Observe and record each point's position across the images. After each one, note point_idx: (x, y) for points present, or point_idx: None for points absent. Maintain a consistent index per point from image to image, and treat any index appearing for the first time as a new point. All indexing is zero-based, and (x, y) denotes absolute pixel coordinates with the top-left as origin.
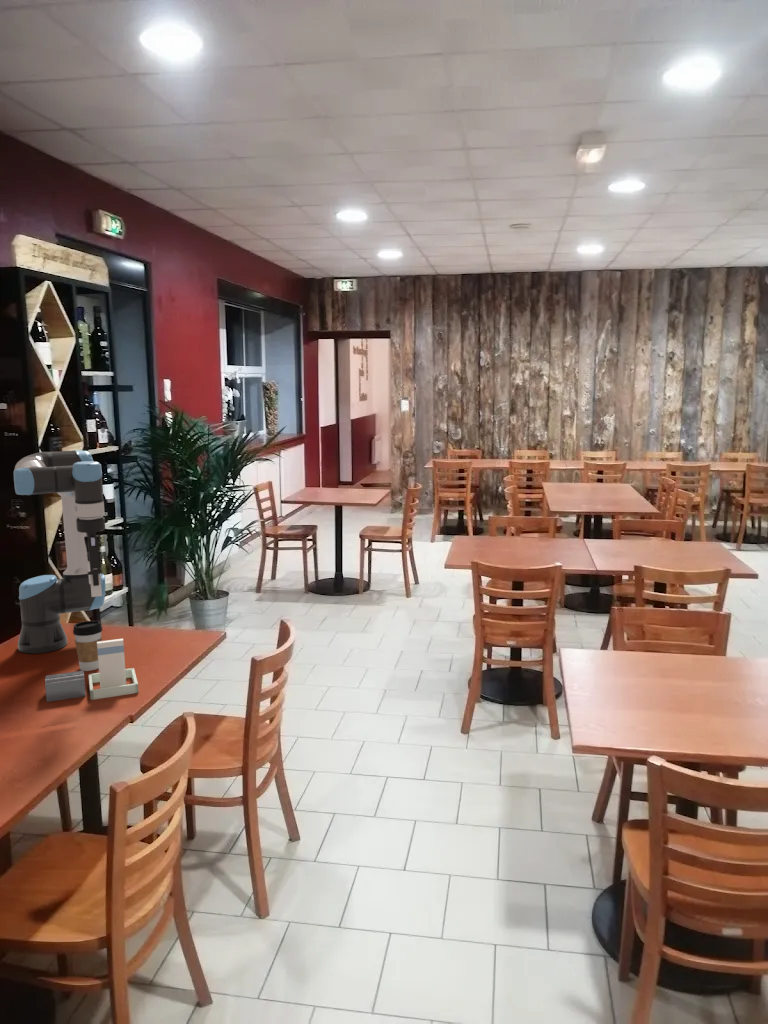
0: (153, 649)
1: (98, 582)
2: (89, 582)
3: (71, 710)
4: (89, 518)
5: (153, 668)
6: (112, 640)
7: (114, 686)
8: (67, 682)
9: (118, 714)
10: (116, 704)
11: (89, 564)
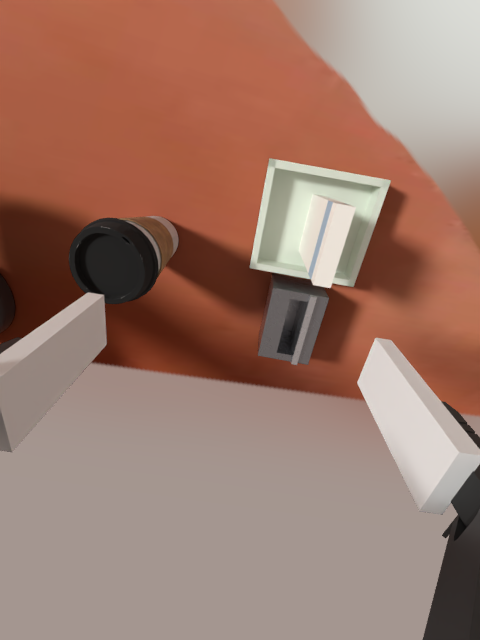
0: (59, 36)
1: (464, 422)
2: (102, 348)
3: (355, 314)
4: None
5: (219, 87)
6: (333, 240)
7: (364, 236)
8: (318, 327)
9: (444, 246)
10: (390, 236)
11: (23, 427)
